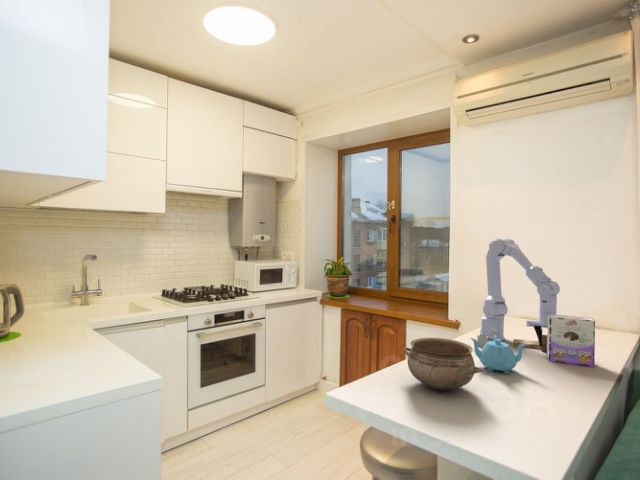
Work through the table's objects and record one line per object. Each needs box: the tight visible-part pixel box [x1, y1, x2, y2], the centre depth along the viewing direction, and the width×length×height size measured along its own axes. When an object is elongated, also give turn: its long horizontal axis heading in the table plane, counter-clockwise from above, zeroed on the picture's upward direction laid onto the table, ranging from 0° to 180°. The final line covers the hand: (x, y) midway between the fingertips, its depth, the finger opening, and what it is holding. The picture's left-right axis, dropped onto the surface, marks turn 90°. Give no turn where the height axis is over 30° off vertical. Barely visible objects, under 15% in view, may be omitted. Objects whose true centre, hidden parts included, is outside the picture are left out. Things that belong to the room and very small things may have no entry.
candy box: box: [546, 314, 596, 368], centre depth 135 cm, size 14×6×16 cm, turn 65°
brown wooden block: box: [539, 334, 547, 353], centre depth 151 cm, size 4×8×6 cm, turn 160°
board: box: [513, 338, 540, 350], centre depth 154 cm, size 15×6×2 cm, turn 69°
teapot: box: [470, 334, 527, 375], centre depth 127 cm, size 13×13×10 cm
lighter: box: [476, 329, 497, 348], centre depth 152 cm, size 7×2×8 cm, turn 46°
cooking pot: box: [402, 337, 485, 393], centre depth 111 cm, size 25×19×12 cm
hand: (546, 346), depth 149 cm, fingers closed on brown wooden block, 4 cm apart
